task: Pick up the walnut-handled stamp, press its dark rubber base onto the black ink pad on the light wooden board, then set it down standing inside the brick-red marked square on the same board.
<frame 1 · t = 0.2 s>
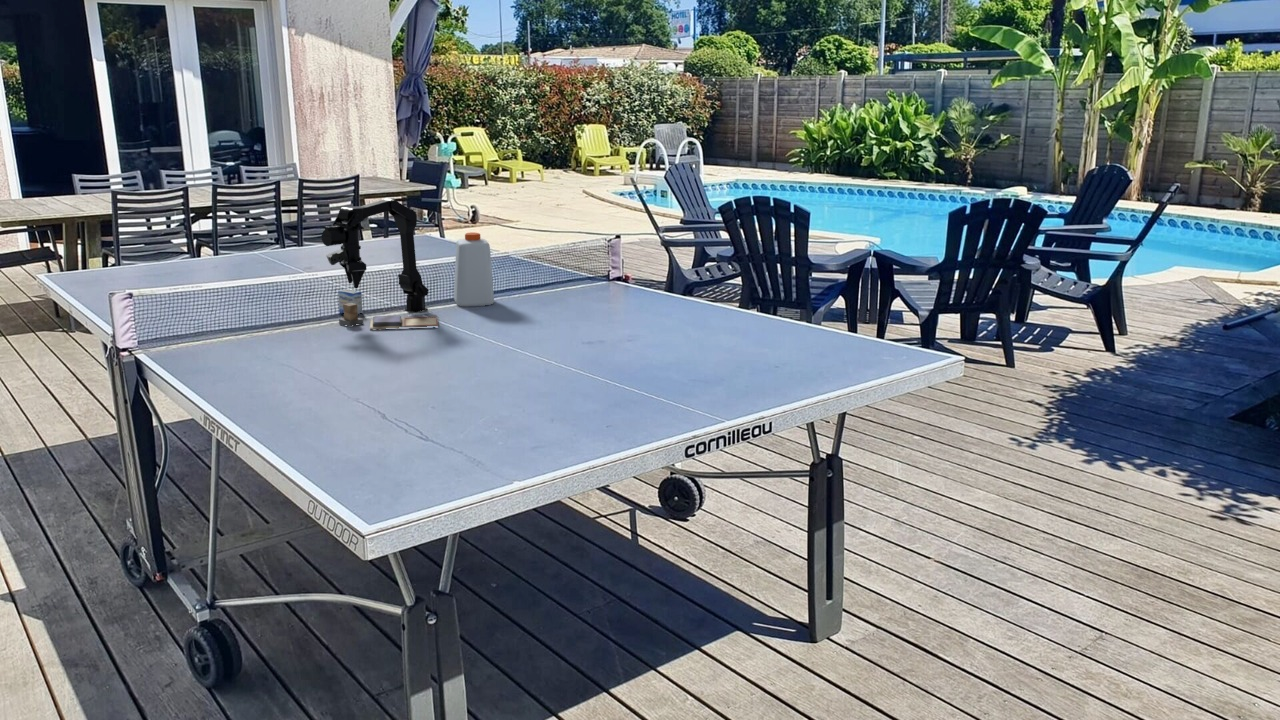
hand: (353, 285, 363), 14 cm above the table, tool pointing down, fingers open, 9 cm apart
plastic bottle: (474, 303, 404), on the table
stamp: (351, 324, 367), on the table
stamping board: (404, 325, 368), on the table
medicine box: (351, 313, 382), on the table
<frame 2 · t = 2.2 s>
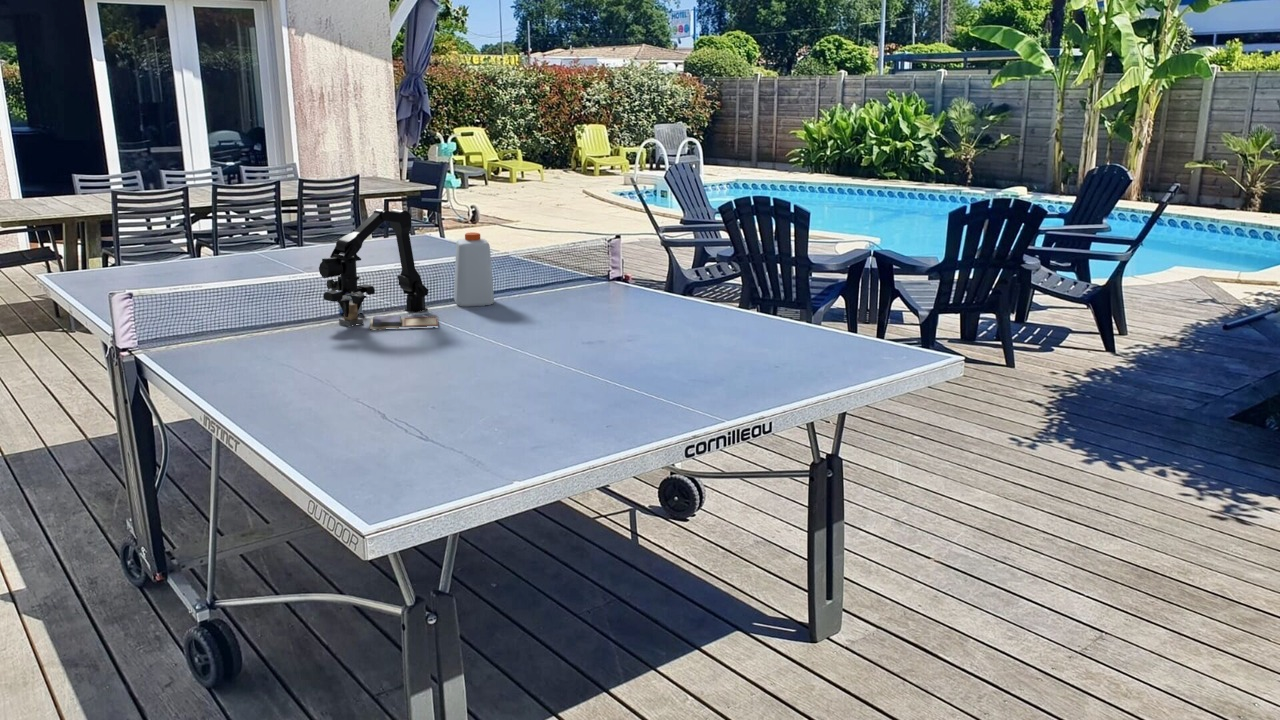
hand: (350, 315, 366), 3 cm above the table, tool pointing down, fingers closed on stamp, 3 cm apart
stamp: (351, 324, 367), on the table, touching gripper
everything else where it was.
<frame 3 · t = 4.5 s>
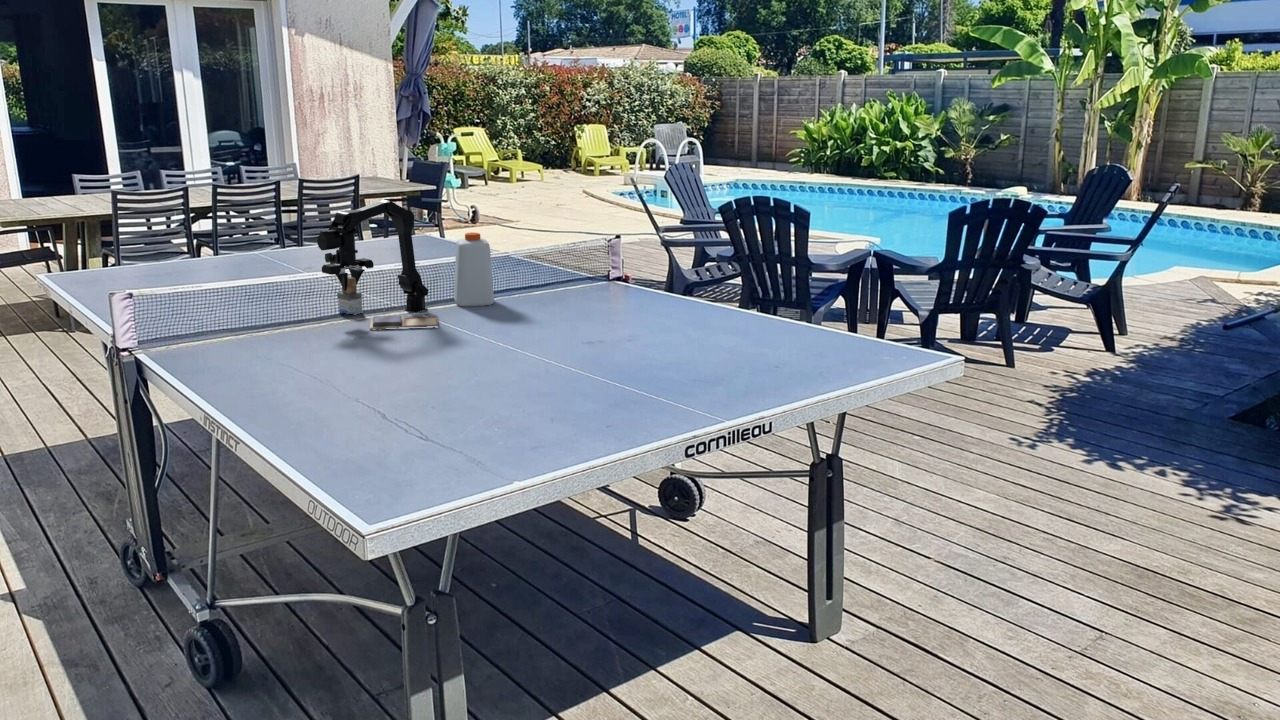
hand: (349, 289, 363), 13 cm above the table, tool pointing down, fingers closed on stamp, 3 cm apart
stamp: (349, 298, 364), point 10 cm above the table, touching gripper
everything else where it was.
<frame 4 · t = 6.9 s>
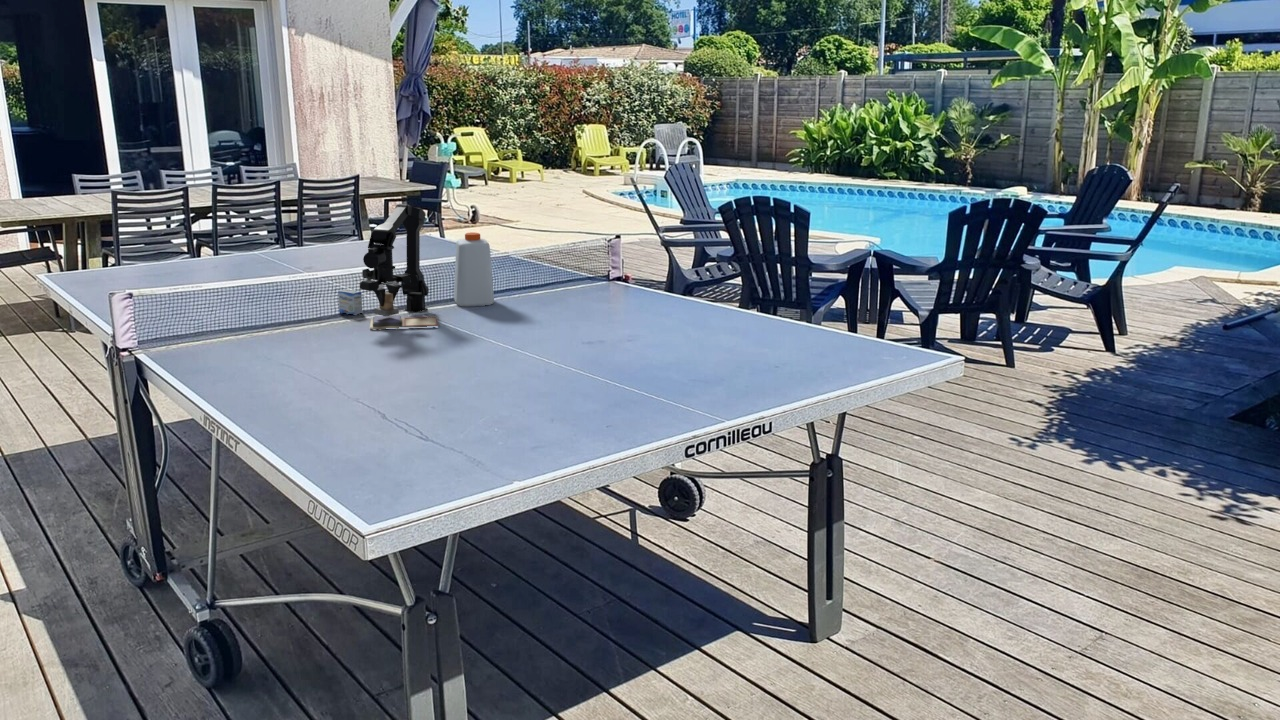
hand: (386, 305, 364), 7 cm above the table, tool pointing down, fingers closed on stamp, 3 cm apart
stamp: (386, 313, 365), point 4 cm above the table, touching gripper
everything else where it was.
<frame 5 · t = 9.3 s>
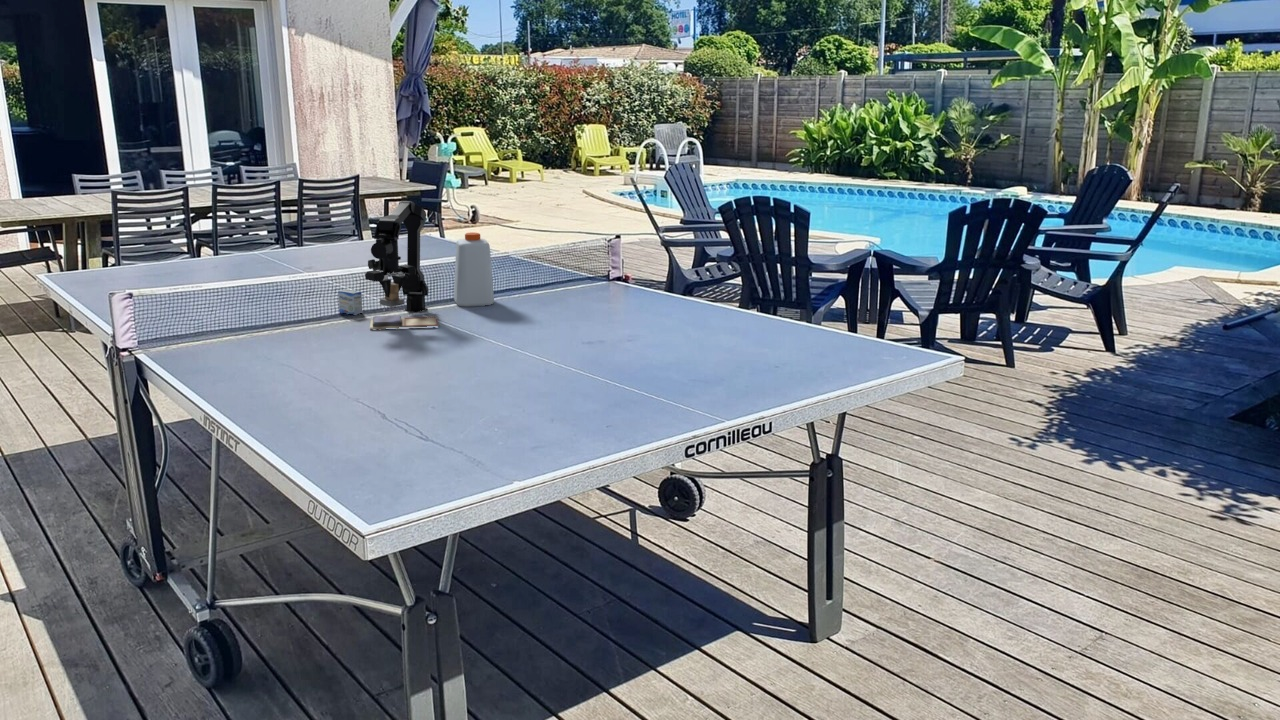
hand: (391, 296, 364), 11 cm above the table, tool pointing down, fingers closed on stamp, 3 cm apart
stamp: (392, 304, 365), point 8 cm above the table, touching gripper
everything else where it was.
when the fingers open (5 cm above the table, at t = 11.6 s): stamp drops 1 cm, resting on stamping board.
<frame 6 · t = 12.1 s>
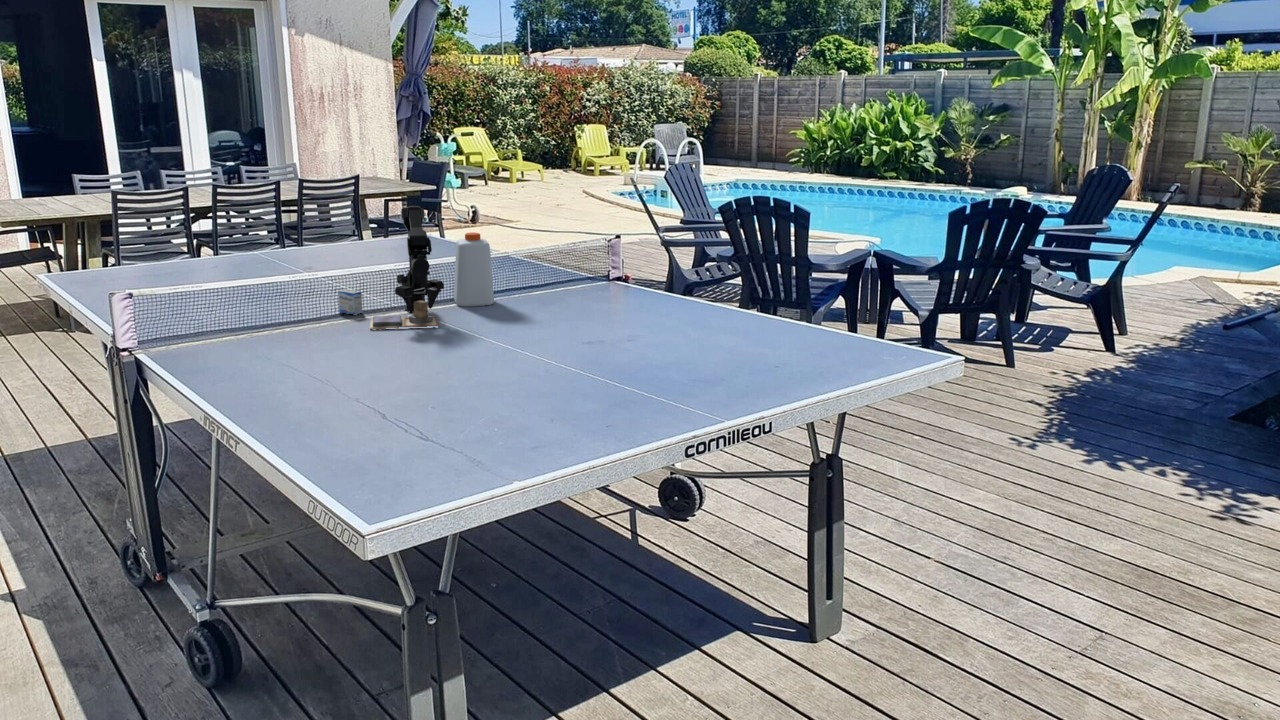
hand: (420, 310, 367), 5 cm above the table, tool pointing down, fingers open, 9 cm apart
stamp: (421, 321, 369), point 1 cm above the table, touching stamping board
everything else where it was.
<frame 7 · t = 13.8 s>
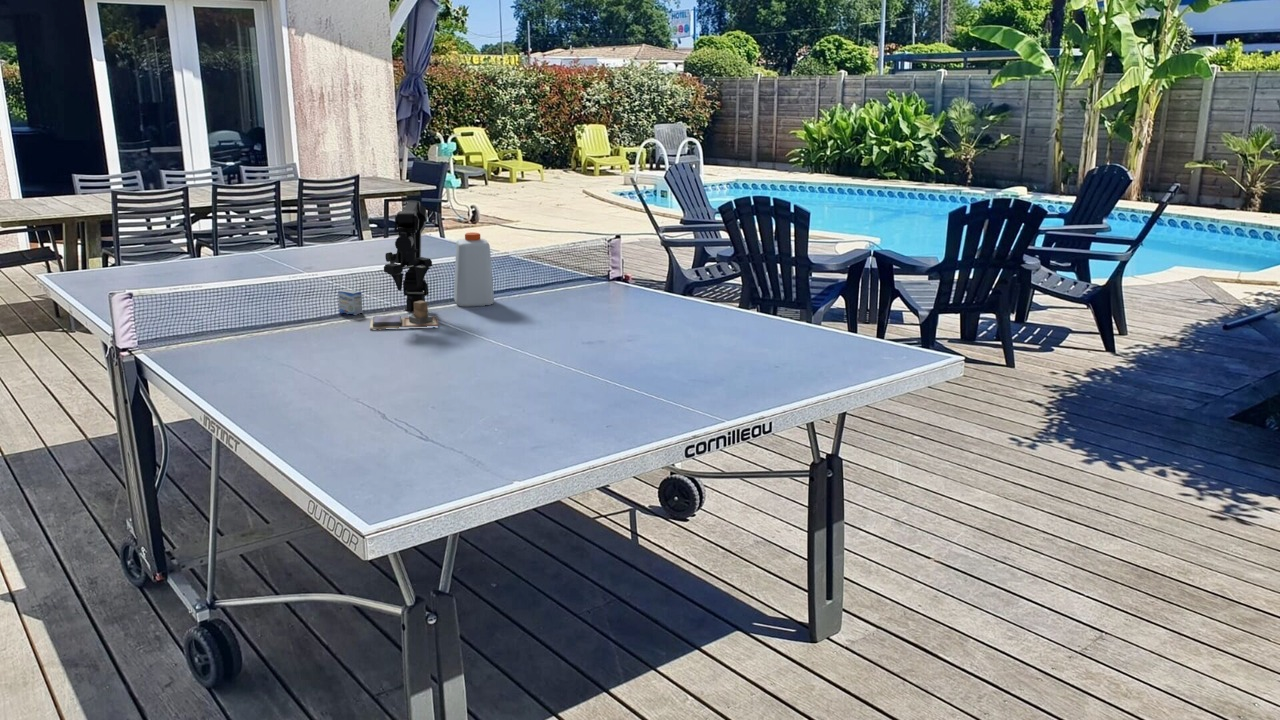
hand: (409, 288, 370), 12 cm above the table, tool pointing down, fingers open, 9 cm apart
nothing on the table moved.
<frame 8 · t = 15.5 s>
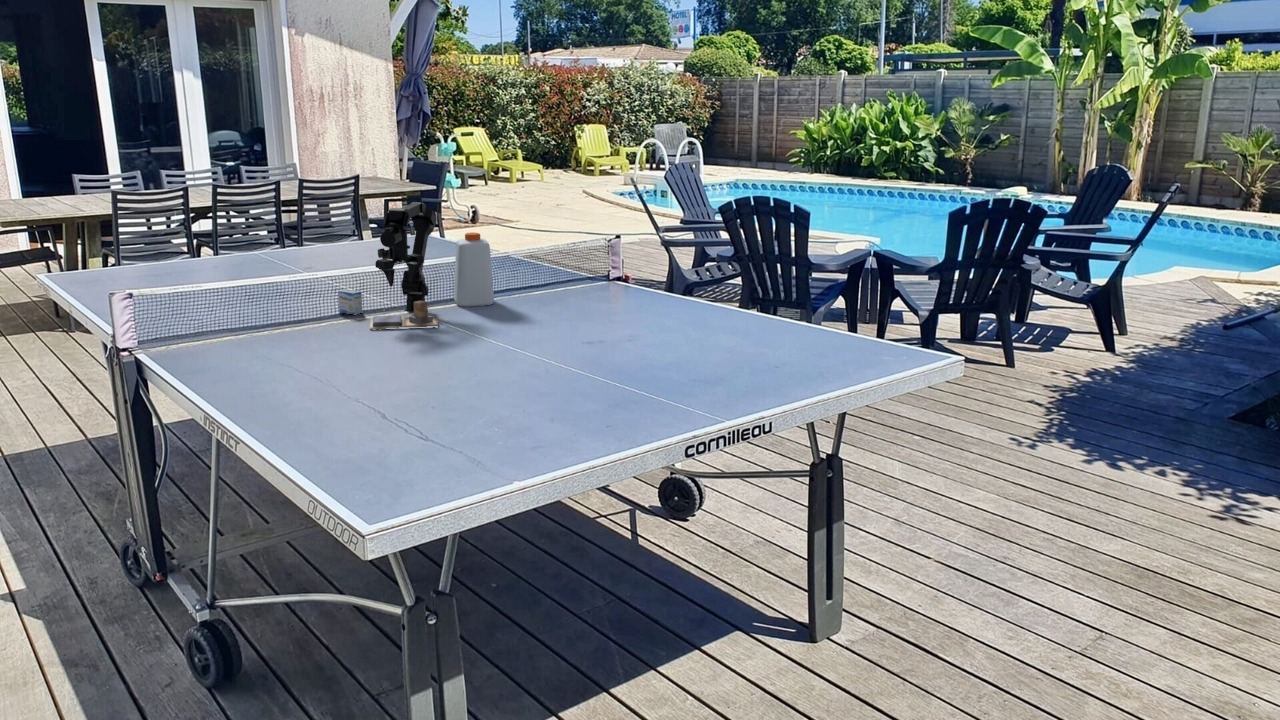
hand: (401, 284, 373), 13 cm above the table, tool pointing down, fingers open, 9 cm apart
nothing on the table moved.
at the end: stamp 0.0 cm from the target spot, point 1.0 cm above the table; stamp tilted 0°; the gripper is holding nothing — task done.
